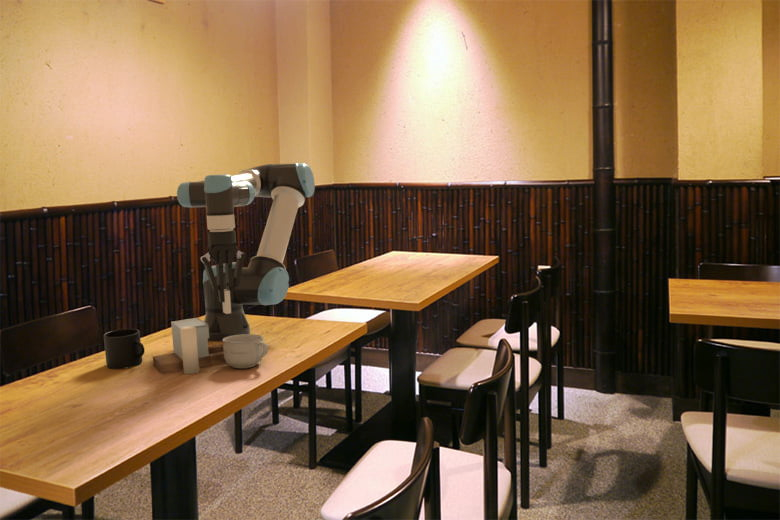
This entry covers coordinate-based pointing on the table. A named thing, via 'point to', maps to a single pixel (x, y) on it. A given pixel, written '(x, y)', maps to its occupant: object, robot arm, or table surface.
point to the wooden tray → (175, 363)
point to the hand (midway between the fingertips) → (227, 312)
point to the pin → (189, 350)
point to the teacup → (244, 350)
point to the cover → (201, 334)
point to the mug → (123, 348)
